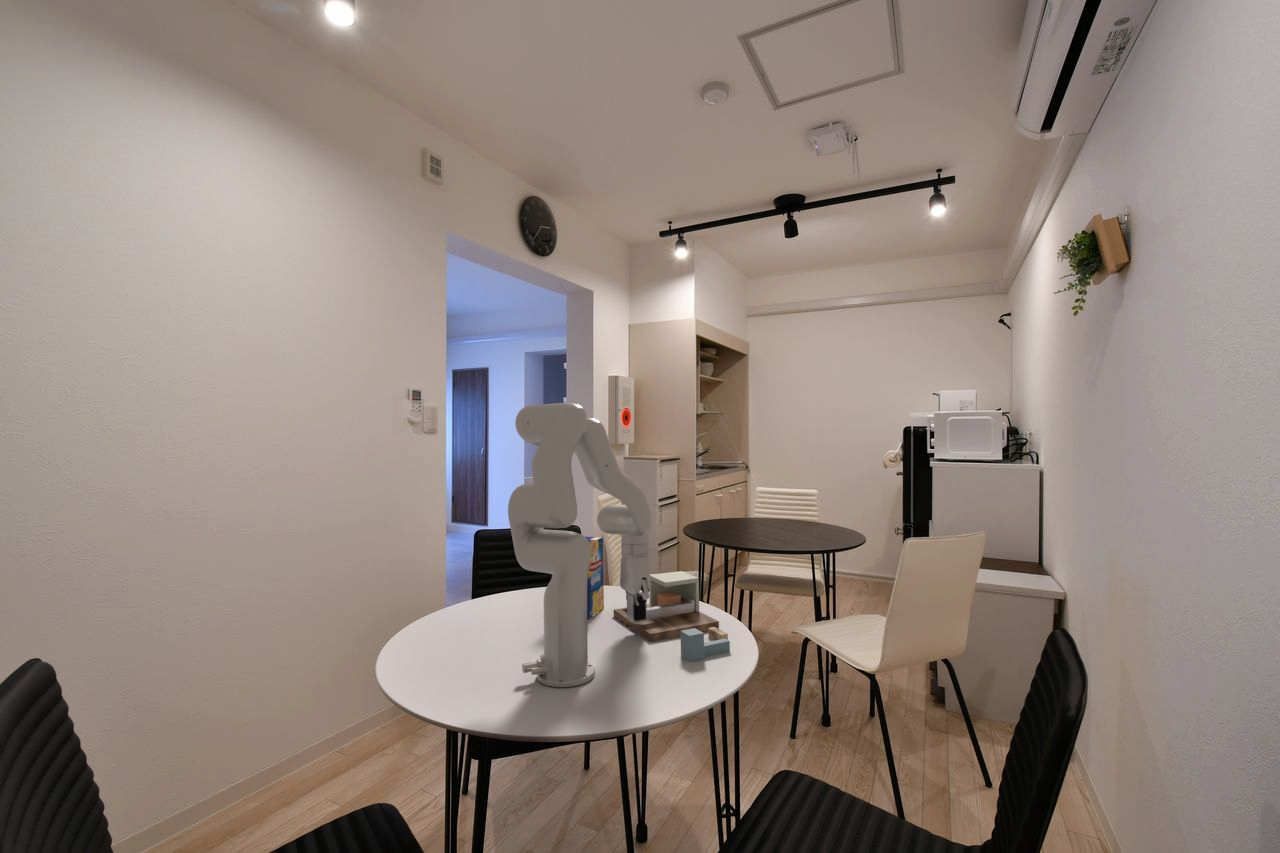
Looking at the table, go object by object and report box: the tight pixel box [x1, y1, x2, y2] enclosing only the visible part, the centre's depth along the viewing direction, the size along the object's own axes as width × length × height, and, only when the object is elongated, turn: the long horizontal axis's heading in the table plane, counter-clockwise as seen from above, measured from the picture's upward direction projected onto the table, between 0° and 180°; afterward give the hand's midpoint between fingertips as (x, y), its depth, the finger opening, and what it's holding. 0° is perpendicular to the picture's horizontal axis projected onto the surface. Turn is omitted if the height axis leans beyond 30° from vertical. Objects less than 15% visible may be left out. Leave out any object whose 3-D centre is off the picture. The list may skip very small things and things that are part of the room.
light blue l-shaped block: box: [680, 628, 731, 663], centre depth 134 cm, size 12×4×6 cm, turn 116°
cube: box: [657, 592, 681, 606], centre depth 162 cm, size 5×5×5 cm
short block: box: [707, 627, 729, 641], centre depth 144 cm, size 6×2×2 cm, turn 26°
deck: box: [613, 603, 720, 642], centre depth 158 cm, size 21×24×2 cm
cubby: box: [649, 570, 700, 612], centre depth 164 cm, size 11×10×10 cm
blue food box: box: [585, 536, 605, 620], centre depth 169 cm, size 7×11×22 cm, turn 159°
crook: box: [626, 591, 695, 623], centre depth 156 cm, size 21×10×7 cm, turn 116°
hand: (636, 616), depth 150 cm, fingers closed on crook, 4 cm apart
